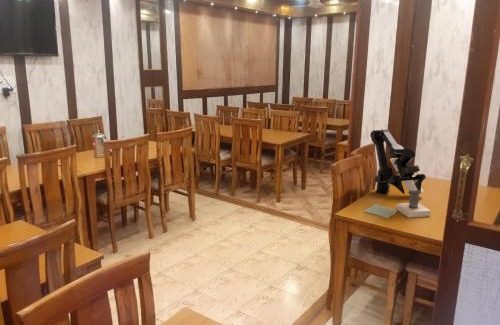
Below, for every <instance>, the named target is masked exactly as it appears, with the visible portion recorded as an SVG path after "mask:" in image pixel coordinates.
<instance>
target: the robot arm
mask: <svg viewBox="0 0 500 325" xmlns="http://www.w3.org/2000/svg"><path fill="white" fill-rule="evenodd" d="M369 135H370V139H371V142H372V143H373V144H374V145H375V151H376V154H377V161H378V166H379V169H378V170H377V175H376V176H375V177H374V182H375V183H376V190H375V191H374V192H375V193H379V194H384V195H386V194H388V193H389V192H390V191H391V190H390V189H391V188H390V187H391V186H394V187H395V188H396V189H397V190H399V192H401V193H402V194H403V195H405V193H406V192H405V189H404V187H403V186H404V185H403V184H402V183H403V181H409V180H414V182H415V186H416V188H417V190H420V191H421V188H422V183H423V182H424V180H426V179H427V177H426V175H425V173H418V172H419V171H420V166H419V165H417V164H416V165H413V166H409V163H410V162H411V161H412V160H413V159H414V158H415V156H416V153H415V152H414V150H412V149H410V147H405V148H404V147H403V146H402V145H400V144H398V143H397V141H396V140H395V139H394V137H393V135H392V134H391V131H390V129H380V130H379V129H378V130H377V129H376V130H374V129H373V130H371V132H370V134H369ZM384 143H385V144H386V146H387V147H388V148H389V151H388V154H389V155H390V158H391V159H392V158H397V159H396V160H395V162H394V165H396V166H397V169H398V172H397V171H396V173H397V174H394V172H393V168H392V167H390V166H389V165H388V164H389V163H388V159H387V154H386V147H385V144H384ZM398 174H400V176H399V175H398ZM415 174H416V175H415ZM412 175H414V176H415V177H412Z"/></svg>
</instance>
